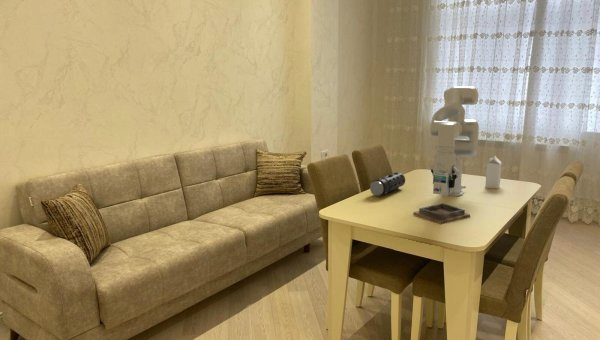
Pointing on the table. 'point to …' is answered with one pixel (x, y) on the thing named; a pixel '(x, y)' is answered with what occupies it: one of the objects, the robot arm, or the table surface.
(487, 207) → the table surface
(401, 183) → the muzzle brake
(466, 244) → the table surface
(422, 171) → the table surface
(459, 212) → the tray
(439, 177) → the light bulb box
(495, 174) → the milk carton
